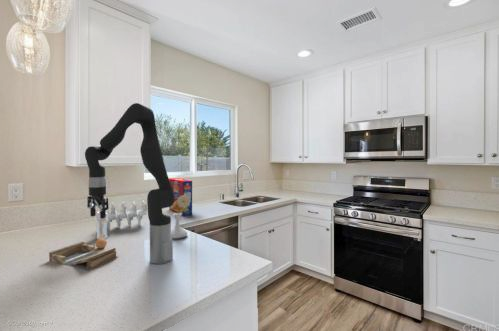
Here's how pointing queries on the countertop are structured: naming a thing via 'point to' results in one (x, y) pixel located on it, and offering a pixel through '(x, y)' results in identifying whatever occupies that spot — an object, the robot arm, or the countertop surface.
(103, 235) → the beer glass
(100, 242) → the ball
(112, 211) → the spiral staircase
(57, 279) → the countertop surface
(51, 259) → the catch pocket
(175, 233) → the flower in vase
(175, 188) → the cereal box
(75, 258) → the mat
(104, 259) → the ramp
